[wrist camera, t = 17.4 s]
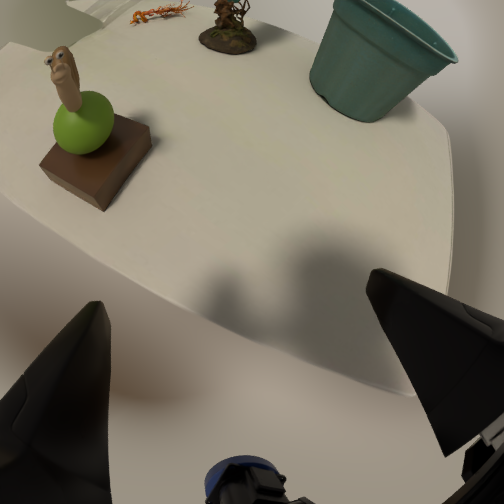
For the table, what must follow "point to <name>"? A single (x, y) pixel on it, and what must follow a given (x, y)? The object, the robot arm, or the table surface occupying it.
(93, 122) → the snail figurine
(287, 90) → the table surface
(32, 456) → the robot arm
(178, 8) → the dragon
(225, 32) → the sculpture
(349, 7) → the flower pot
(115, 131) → the riser
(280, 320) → the table surface
